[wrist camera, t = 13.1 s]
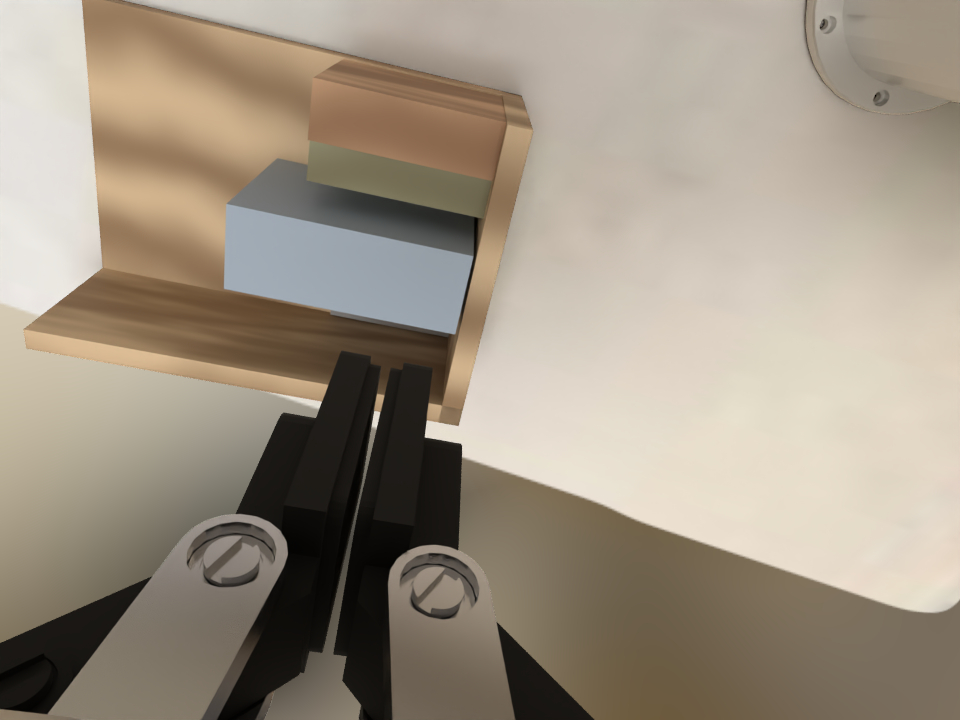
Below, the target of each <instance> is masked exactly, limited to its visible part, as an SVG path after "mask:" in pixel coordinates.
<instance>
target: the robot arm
mask: <svg viewBox="0 0 960 720" xmlns="http://www.w3.org/2000/svg"><path fill="white" fill-rule="evenodd" d="M823 19H824V21H825V24H824V26H823V28H821V29H820V23H821V22H822V20H823ZM806 33H807V43H808V48H809V51H810V54H811V57H812V61H813V64H814V66H815V68H816V70H817V71H818V73H819V75H820V76H821V78H822V80H823V82H824V83H825V84H826V85H827V86H828V87H829V88H830V89H831V90H832V91H833V92H834V93H835V94H836V95H837V96H838V97H840V98H842V99H843V100H845V101H847V102H848V103H850V104H852V105H854V106H857V107H860V108H862V109H865V110H867V111H871V112H877V113H882V114H887V115H896V114H912V113H917V112H922V111H927V110H931V109H933V108H936V107H939V106H941V105H944V104H946V103H949V102H951V101H953V102H957V103H960V0H807V11H806ZM876 93H877V97H876V98H875V99H874V96H875V95H876ZM873 99H874V100H873ZM432 371H433V368H432V367H427V366H421V365H416V364H411V363H405V362H404V364H403V369H402V370H400V369H395V368H391V369H390V373H389V378H388V382H387V386H386V391H385V395H384V400H383V404H382V408H381V413H380V417H379V422H378V426H377V430H376V435H375V439H374V443H373V448H372V452H371V457H370V461H369V466H368V470H367V474H366V479H365V483H364V487H363V492H362V496H361V500H360V505H359V510H358V515H357V520H356V525H355V530H354V536H353V542H352V548H351V554H350V559H349V565H348V571H347V577H346V583H345V589H344V595H343V601H342V607H341V612H340V619H339V624H338V630H337V636H336V642H335V648H334V655H342V656H347V658H346V664H345V669H344V674H343V680H342V681H343V682H344V683H345V685H346V686H347V687H348V688H349V690H350V691H351V692H352V694H353V695H354V696H355V698H356V699H357V700H358V701H359V703H360V704H361V707H360V713H359V720H594V719H593V718H592V717H591V716H590V715H589V714H588V713H587V712H586V711H585V710H584V709H583V708H582V707H581V706H580V705H579V704H578V703H577V702H576V701H575V700H574V699H573V698H572V697H571V696H570V695H569V694H568V693H567V692H566V691H565V690H564V689H563V688H562V687H561V686H560V685H559V684H558V683H557V682H556V681H555V680H554V679H553V678H552V677H551V676H550V675H549V674H548V673H547V672H546V671H545V670H544V669H543V668H542V667H541V666H540V665H539V664H538V663H537V662H536V661H535V660H534V659H533V658H532V657H531V656H530V655H529V654H528V653H527V652H526V651H525V650H524V649H523V648H522V647H521V646H520V645H519V644H518V643H517V642H516V641H515V640H514V639H513V638H512V637H511V636H510V635H509V634H508V633H507V632H506V631H505V630H504V629H503V628H502V627H501V626H500V625H499V624H498V623H497V622H496V618H495V612H494V607H493V602H492V596H491V591H490V586H489V583H488V581H487V578H486V575H485V573H484V572H483V570H482V569H481V568H480V567H479V565H478V564H477V563H476V562H475V561H474V560H473V559H471V558H470V557H469V556H467V555H466V554H465V553H463V552H460V551H458V544H459V517H460V491H461V489H460V488H461V465H462V463H461V462H462V445H461V444H459V443H453V442H447V441H442V440H436V439H430V438H425V429H426V421H427V412H428V404H429V396H430V388H431V379H432ZM380 373H381V366H379V365H374V364H371V356H368V355H363V354H358V353H352V352H347V351H341V353H340V355H339V358H338V360H337V363H336V366H335V369H334V371H333V374H332V377H331V379H330V382H329V385H328V387H327V390H326V393H325V395H324V398H323V401H322V404H321V406H320V409H319V412H318V415H317V417H316V418H311V417H305V416H300V415H294V414H289V413H283V414H281V416H280V418H279V420H278V422H277V424H276V426H275V429H274V431H273V433H272V435H271V438H270V439H269V442H268V444H267V446H266V448H265V451H264V453H263V455H262V457H261V459H260V461H259V464H258V466H257V468H256V470H255V472H254V475H253V477H252V479H251V481H250V483H249V486H248V488H247V490H246V493H245V495H244V497H243V499H242V501H241V503H240V506H239V508H238V510H237V512H236V514H233V515H222V516H219V517H215V518H212V519H208V520H206V521H204V522H202V523H200V524H199V525H197V526H195V527H193V528H192V529H191V530H190V531H189V532H188V533H187V534H186V535H185V536H184V537H183V538H182V539H181V540H180V541H179V542H178V544H177V545H176V546H175V548H174V549H173V550H172V551H171V553H170V554H169V556H168V557H167V558H166V560H165V561H164V562H163V563H162V565H161V566H160V567H159V569H158V570H157V571H156V572H155V574H154V575H153V576H152V577H150V578H147V579H145V580H143V581H141V582H138V583H136V584H134V585H132V586H129V587H127V588H125V589H123V590H120V591H118V592H116V593H113V594H111V595H109V596H106V597H104V598H102V599H100V600H97V601H95V602H93V603H91V604H88V605H86V606H84V607H82V608H79V609H77V610H75V611H72V612H70V613H68V614H66V615H63V616H61V617H59V618H56V619H54V620H52V621H50V622H47V623H45V624H43V625H41V626H38V627H36V628H34V629H32V630H29V631H27V632H25V633H23V634H20V635H18V636H15V637H13V638H11V639H9V640H6V641H4V642H2V643H0V720H264V719H265V716H266V714H267V712H268V710H269V708H270V704H271V701H272V697H273V694H274V690H276V689H277V688H279V687H281V686H282V685H284V684H285V683H287V682H288V681H290V680H291V679H293V678H295V677H296V676H298V675H299V674H300V672H301V673H304V671H305V666H306V663H307V659H308V655H309V651H312V652H320V653H322V652H323V648H324V644H325V640H326V636H327V631H328V627H329V623H330V618H331V614H332V610H333V605H334V601H335V597H336V593H337V589H338V584H339V580H340V576H341V571H342V567H343V563H344V559H345V554H346V549H347V546H348V541H349V537H350V533H351V528H352V524H353V520H354V516H355V511H356V506H357V503H358V498H359V494H360V489H361V484H362V479H363V473H364V466H365V461H366V456H367V450H368V443H369V438H370V432H371V426H372V420H373V414H374V408H375V403H376V397H377V391H378V385H379V379H380Z"/></svg>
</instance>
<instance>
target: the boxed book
mask: <svg viewBox="0 0 960 720" xmlns="http://www.w3.org/2000/svg"><path fill="white" fill-rule="evenodd" d="M307 167H308V165H306V164H301V163H297V162H292V161H288V160H283V159H279V158H277V159H276V160H275V161H274V162H272V163H271V164H270V165H269V166H268V167H267V168H266V169H265V170H263V171H262V172H261V173H260V174H259V175H258V176H257V177H256V178H255V179H253V180H252V181H251V182H250V183H249V184H248V185H247V186H246V187H245V188H243V189H242V190H241V191H240V192H239V193H238V194H237V195H236V196H234V197H233V198H232V199H231V200H230V201H229V202H228V203H227V204H226V230H225V266H224V289H227V290H232V291H237V292H242V293H247V294H252V295H258V296H263V297H268V298H273V299H278V300H283V301H288V302H293V303H298V304H303V305H308V306H313V307H318V308H323V309H328V310H333V311H338V312H343V313H349V314H354V315H359V316H364V317H369V318H374V319H379V320H384V321H389V322H394V323H399V324H404V325H409V326H414V327H419V328H424V329H429V330H434V331H440V332H445V333H450V334H455V333H456V329H457V325H458V320H459V316H460V312H461V308H462V303H463V299H464V295H465V291H466V286H467V282H468V278H469V273H470V269H471V265H472V261H473V256H474V217H473V216H469V215H464V214H459V213H455V212H450V211H445V210H441V209H436V208H431V207H427V206H422V205H418V204H413V203H408V202H404V201H399V200H394V199H390V198H385V197H381V196H376V195H371V194H367V193H362V192H357V191H353V190H348V189H344V188H339V187H334V186H330V185H325V184H320V183H316V182H311V181H306V179H307Z"/></svg>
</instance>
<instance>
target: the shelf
mask: <svg viewBox="0 0 960 720" xmlns="http://www.w3.org/2000/svg"><path fill="white" fill-rule="evenodd" d="M82 6H83V19H84V31H85V44H86V57H87V70H88V83H89V96H90V109H91V122H92V135H93V148H94V161H95V174H96V187H97V200H98V213H99V226H100V238H101V251H102V264H103V268H102V269H101V270H100V271H98V272H97V273H96V274H94V275H93V276H92V277H91V278H89V279H88V280H87V281H85V282H84V283H83V284H81V285H80V286H79V287H78V288H76V289H75V290H74V291H72V292H71V293H70V294H69V295H67V296H66V297H65V298H63V299H62V300H61V301H59V302H58V303H57V304H56V305H54V306H53V307H52V308H50V309H49V310H48V311H47V312H45V313H44V314H43V315H41V316H40V317H39V318H38V319H36V320H35V321H34V322H32V323H31V324H30V325H29V326H27V327H26V328H25V329H24V336H25V342H26V348H27V349H33V350H38V351H44V352H49V353H55V354H60V355H66V356H72V357H77V358H83V359H88V360H94V361H100V362H105V363H111V364H117V365H122V366H128V367H133V368H139V369H144V370H150V371H155V372H161V373H167V374H172V375H177V376H183V377H189V378H194V379H200V380H206V381H211V382H216V383H222V384H228V385H233V386H239V387H245V388H250V389H255V390H261V391H267V392H272V393H278V394H283V395H289V396H295V397H300V398H306V399H311V400H317V401H323V398H324V395H325V393H326V390H327V387H328V385H329V382H330V379H331V377H332V374H333V371H334V369H335V366H336V363H337V360H338V358H339V355H340V353H341V351H347V352H352V353H358V354H363V355H368V356H371V364H374V365H379V366H381V373H380V379H379V385H378V391H377V397H376V403H375V408H374V411H378V412H381V408H382V404H383V400H384V395H385V391H386V386H387V382H388V378H389V373H390V369H391V368H395V369H400V370H402V369H403V364H404V362H405V363H411V364H416V365H421V366H427V367H432V368H433V371H432V379H431V388H430V396H429V404H428V412H427V420H428V421H434V422H439V423H445V424H451V425H456V426H459V422H460V418H461V414H462V410H463V406H464V402H465V398H466V394H467V390H468V386H469V382H470V378H471V374H472V371H473V367H474V363H475V359H476V355H477V351H478V347H479V343H480V339H481V335H482V331H483V327H484V323H485V319H486V315H487V311H488V307H489V303H490V300H491V296H492V292H493V288H494V284H495V280H496V276H497V272H498V268H499V264H500V260H501V256H502V252H503V248H504V244H505V240H506V236H507V232H508V229H509V225H510V221H511V217H512V213H513V209H514V205H515V201H516V197H517V193H518V189H519V185H520V181H521V177H522V173H523V169H524V165H525V161H526V158H527V154H528V150H529V146H530V142H531V138H532V134H533V128H532V125H531V123H530V120H529V117H528V114H527V111H526V108H525V105H524V102H523V99H522V96H520V95H516V94H511V93H507V92H503V91H499V90H495V89H490V88H486V87H482V86H478V85H474V84H469V83H465V82H461V81H457V80H453V79H449V78H444V77H440V76H436V75H432V74H428V73H423V72H419V71H415V70H411V69H407V68H402V67H398V66H394V65H390V64H386V63H382V62H377V61H373V60H369V59H365V58H361V57H356V56H352V55H348V54H344V53H340V52H336V51H331V50H327V49H323V48H319V47H315V46H310V45H306V44H302V43H298V42H294V41H289V40H285V39H281V38H277V37H273V36H269V35H264V34H260V33H256V32H252V31H248V30H243V29H239V28H235V27H231V26H227V25H222V24H218V23H214V22H210V21H206V20H202V19H197V18H193V17H189V16H185V15H181V14H176V13H172V12H168V11H164V10H160V9H155V8H151V7H147V6H143V5H139V4H135V3H130V2H126V1H122V0H82ZM277 158H279V159H283V160H288V161H292V162H297V163H301V164H306V165H308V167H307V179H306V181H311V182H316V183H320V184H325V185H330V186H334V187H339V188H344V189H348V190H353V191H357V192H362V193H367V194H371V195H376V196H381V197H385V198H390V199H394V200H399V201H404V202H408V203H413V204H418V205H422V206H427V207H431V208H436V209H441V210H445V211H450V212H455V213H459V214H464V215H469V216H473V217H474V256H473V261H472V265H471V269H470V273H469V278H468V282H467V286H466V291H465V295H464V299H463V303H462V308H461V312H460V316H459V320H458V325H457V329H456V333H455V334H450V333H445V332H440V331H434V330H429V329H424V328H419V327H414V326H409V325H404V324H399V323H394V322H389V321H384V320H379V319H374V318H369V317H364V316H359V315H354V314H349V313H343V312H338V311H333V310H328V309H323V308H318V307H313V306H308V305H303V304H298V303H293V302H288V301H283V300H278V299H273V298H268V297H263V296H258V295H252V294H247V293H242V292H237V291H232V290H227V289H224V266H225V230H226V204H227V203H228V202H229V201H230V200H231V199H232V198H233V197H234V196H236V195H237V194H238V193H239V192H240V191H241V190H242V189H243V188H245V187H246V186H247V185H248V184H249V183H250V182H251V181H252V180H253V179H255V178H256V177H257V176H258V175H259V174H260V173H261V172H262V171H263V170H265V169H266V168H267V167H268V166H269V165H270V164H271V163H272V162H274V161H275V160H276V159H277Z"/></svg>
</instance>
